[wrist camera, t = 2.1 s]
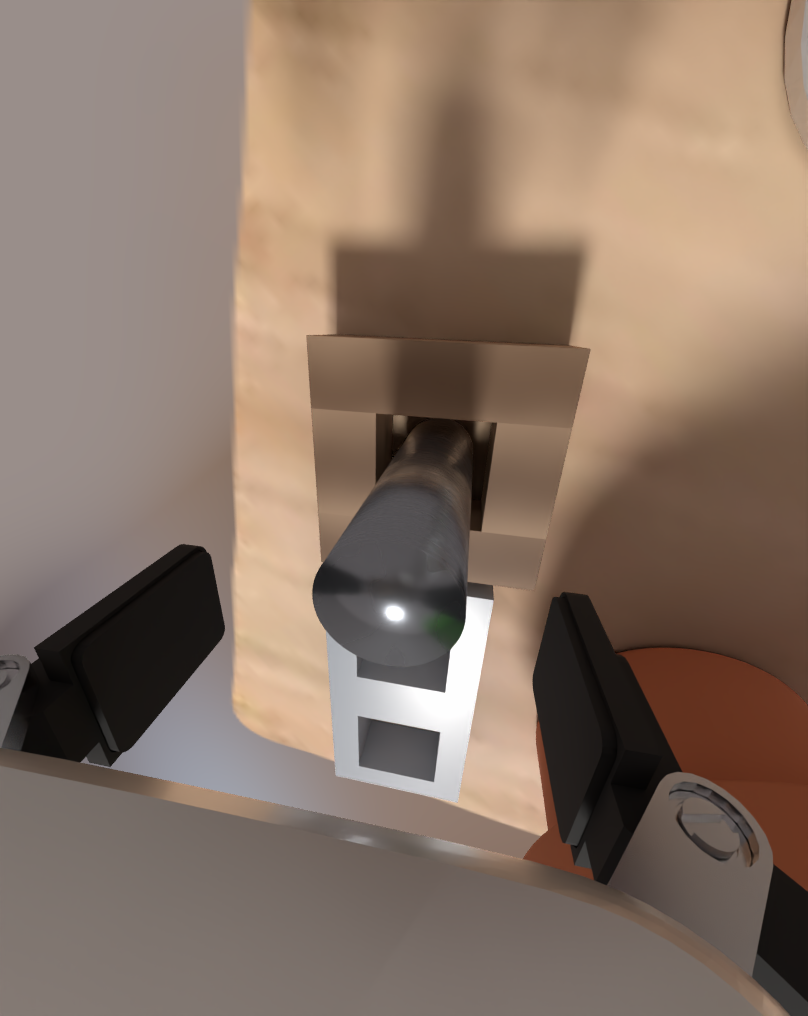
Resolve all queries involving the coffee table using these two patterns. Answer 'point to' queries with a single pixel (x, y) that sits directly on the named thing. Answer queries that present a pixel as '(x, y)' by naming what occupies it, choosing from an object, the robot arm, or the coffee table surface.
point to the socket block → (449, 395)
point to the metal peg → (405, 555)
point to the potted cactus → (719, 746)
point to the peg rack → (410, 711)
